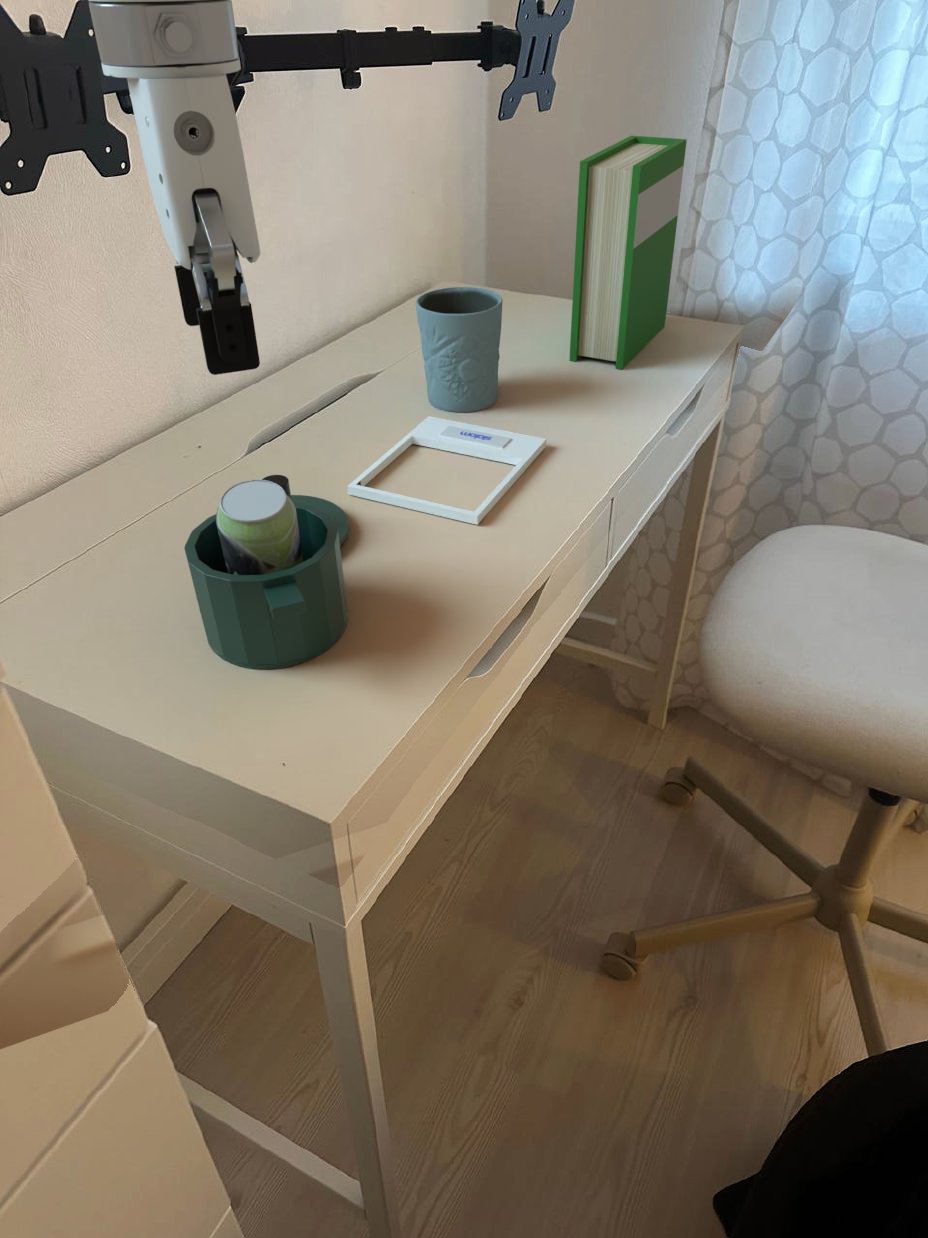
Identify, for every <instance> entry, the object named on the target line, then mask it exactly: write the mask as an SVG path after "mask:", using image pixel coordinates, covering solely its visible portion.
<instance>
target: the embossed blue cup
mask: <svg viewBox="0 0 928 1238" xmlns="http://www.w3.org/2000/svg"><path fill="white" fill-rule="evenodd" d="M503 301H504V300H503V297H502V296H501V295H500V294H498V293H497V292H495V291H494V290H491V289H487V288H482V287H472V286H455V287H454V286H453V287H446V288H444V287H443V288H439V289H434V290H430V291H427V292H425V293H423V294H421V295H419V296H418V297H417V298H416V299H415V303H414V304H415V310H416V317H417V324H418V328H419V334H420V335H419V336H420V341H421V342H420V344H421V351H422V358H423V362H424V365H423V367H424V372H425V380H426V392H427V398H428V402H429V403H430V405H431V406H433V407H434V408H436V409H438V410H440V411H444V412H450V413H473V412H478V411H482V410H485V409H487V408H490V407H492V406H493V405H494V404H495V403H496V401H497V399H498V394H499V361H500V345H501V344H500V342H501V335H502V322H503V321H502V319H503V315H502V314H503Z"/></svg>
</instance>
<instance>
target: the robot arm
mask: <svg viewBox="0 0 928 1238" xmlns="http://www.w3.org/2000/svg"><path fill="white" fill-rule="evenodd" d="M87 1H88V7H89V12H90V17H91V22H92V26H93V31H94V36H95V40H96V45H97V49H98V53H99V54H98V55H99V58H100V61H101V64H100V65H101V69H102V73H103V75H104V76H106V77H112V78H119V79H126V81H127V85H128V86H127V87H128V91H129V96H130V101H131V105H132V110H133V115H134V121H135V125H136V130H137V135H138V139H139V145H140V149H141V154H142V158H143V164H144V167H145V172H146V175H147V180H148V184H149V188H150V192H151V196H152V200H153V204H154V208H155V210H156V214H157V217H158V218H157V219H158V222H159V224H160V227H161V231H162V234H163V236H164V238H165V241H166V244H167V246H168V247H169V249H170V252H171V253H172V255H173V257H174V258H175V262H176V265H174V266H173V267H174V272H175V277H176V282H177V287H178V292H179V297H180V302H181V308H182V311H183V312H182V313H183V319H184V322H185V323H186V325H187V326H189V327H197V326H199V332H200V337H201V343H202V347H203V354H204V358H205V363H206V368H207V371H208V372H209V373H210V374H211V375H214V376H217V375H225V374H231V373H237V372H243V371H244V372H245V371H251V370H256V369H258V368H259V367H260V365H261V361H260V354H259V348H258V341H257V334H256V328H255V321H254V315H253V314H254V313H253V306H252V303H251V302H250V299H249V294H248V293H249V292H248V289H247V286H246V285H247V284H246V282H245V278H244V274H243V269H242V266H241V262H240V257H239V255H240V256H241V257H242V259H246V260H247V261H248V262H249V263H250V264H253V263H256V262H257V261H258V259H259V258H260V256H261V247H260V242H259V236H258V231H257V225H256V219H255V213H254V208H253V202H252V195H251V189H250V183H249V180H248V179H249V178H248V173H247V167H246V161H245V156H244V155H245V154H244V151H243V150H244V149H243V144H242V140H241V139H242V138H241V133H240V128H239V124H238V120H237V119H238V118H237V114H236V109H235V106H234V101H233V97H232V92H231V88H230V85H229V81H228V77H227V74H232V73H237V72H239V71H241V70H242V66H241V60H240V52H239V51H240V50H239V44H238V36H237V30H236V22H235V15H234V7H233V0H87Z"/></svg>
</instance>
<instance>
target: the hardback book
mask: <svg viewBox="0 0 928 1238" xmlns="http://www.w3.org/2000/svg"><path fill="white" fill-rule="evenodd" d="M687 142H688V139H687V138H673V137H659V136H658V137H657V136H642V135H630V136H627V137H625V138H624V139H621V140H620V141H617V142H616V143H614V144H612V145H610V146H608V147H605V148H604V149H602V150H600V151H598V152H596V153H594V154H592V155H590V156H587V157H586V158H584V159H582V160H580V161H579V170H578V171H579V173H578V175H579V176H578V192H577V193H578V194H577V209H576V230H575V246H574V247H575V249H574V266H573V284H572V285H573V286H572V287H573V288H572V305H571V322H570V323H571V325H570V342H569V343H570V344H569V361H570V362H577V361H578V360H580V359H581V358H582V357H586V358H587V357H588V358H592V359H597V360H603V361H610V362H615V369H616V370H624V369H625V368H626V367H627V366H628V365H629V364H630V363H631V362H632V360H634V359H635V357H637V355H638V354H639V353H641V351H642V350H644V348H645V347H646V346H647V345H648V344H649V343H650V342H651V341H653V339H654V338H655V337H656V336H657V335H658V334H659V333H660V332H661V331H662V330H663V329H664V328H665V327H666V319H667V312H668V311H667V310H668V302H669V295H670V285H671V279H672V278H671V277H672V268H673V260H674V250H675V243H676V236H677V235H676V234H677V228H678V227H677V226H678V218H679V208H680V200H681V192H682V183H683V174H684V167H685V158H686V151H687V150H686V149H687Z"/></svg>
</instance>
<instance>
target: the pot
mask: <svg viewBox="0 0 928 1238" xmlns="http://www.w3.org/2000/svg"><path fill="white" fill-rule="evenodd" d="M293 503H294V505H295V507H296V514H297V521H298V528H299V535H300V542H301V549H302V556H303V562H302V563H300V564H298V565H296V566H294V567H292V568H290V569H286V570H282V571H278V572H273V573H269V574H265V575H232V574H228V572H227V568H226V564H225V559H224V555H223V550H222V546H221V542H220V537H219V533H218V528H217V524H216V513H214V514H213V515H211V516H209V517H207V518H206V519H205V520H204V521H202V522H201V523H200V524H198V525H197V526H196V527H195V528H194V529H193V530H192V531H190V534H189V536H188V538H187V541H186V542H185V545H184V548H183V549H184V553H185V557H186V561H187V566H188V569H189V573H190V576H191V580H192V584H193V589H194V592H195V596H196V600H197V604H198V605H197V606H198V608H199V613H200V616H201V621H202V625H203V629H204V632H205V636H206V640H207V643H208V645H209V647H210V649H211V650H212V652H213V653H214V654H215V655H217V656H218V657H219V658H221V660H223V661H225V662H227V663H229V664H232V665H234V666H237V667H241V668H246V669H251V670H252V669H254V670H276V669H282V668H288V667H292V666H293V667H294V666H296V665H301V664H303V663H306V662H309V661H311V660H313V659H315V658H317V657H319V656H321V655H323V654H324V653H326V652H327V651H328V650H330V649H331V648H332V647H333V646H335V644H336V643H337V642H338V641H339V640H340V638H341V637H342V635H343V634H344V632H345V630H346V628H347V624H348V611H349V610H348V609H349V608H348V607H349V606H348V602H347V601H348V600H347V592H346V591H347V590H346V584H345V576H344V575H345V574H344V568H343V560H342V552H341V546H340V543H339V535H338V529H337V527H336V525H335V524H334V522H333V520H332V518H331V516H330V515H328V514H327V513H325V512H323V511H321V510H320V509H318V508H316V507H315V506H312V505H308V504H303V503H299V502H294V501H293Z"/></svg>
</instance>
